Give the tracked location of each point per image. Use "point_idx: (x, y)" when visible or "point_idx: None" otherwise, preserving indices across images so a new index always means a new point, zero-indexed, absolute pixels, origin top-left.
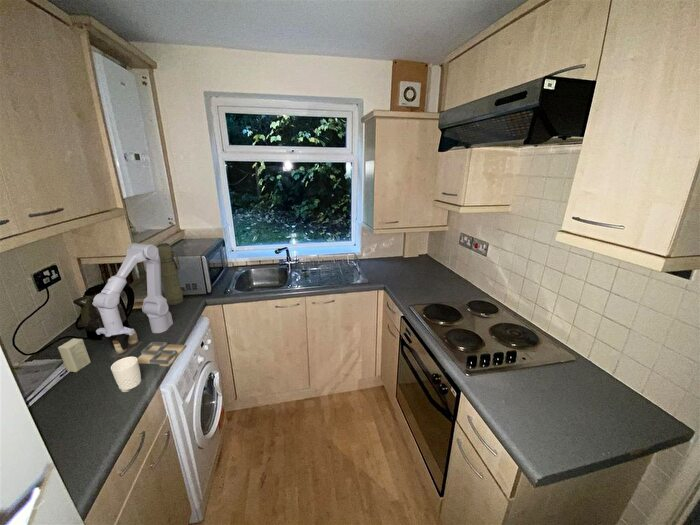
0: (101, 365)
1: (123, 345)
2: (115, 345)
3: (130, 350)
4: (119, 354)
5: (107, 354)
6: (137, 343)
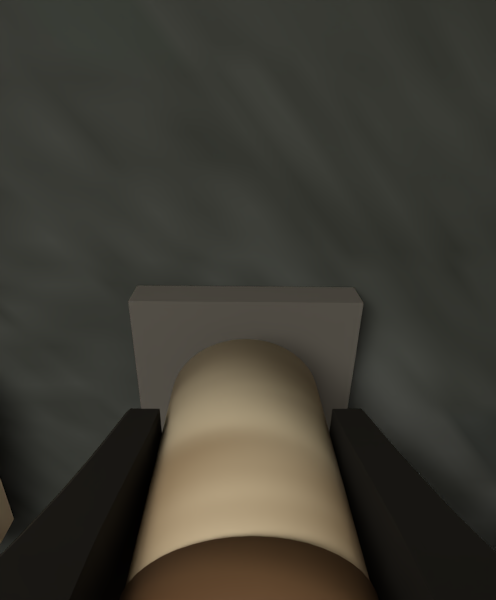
0: (417, 119)
1: (56, 503)
2: (256, 494)
3: None
4: None
5: (477, 365)
6: None
